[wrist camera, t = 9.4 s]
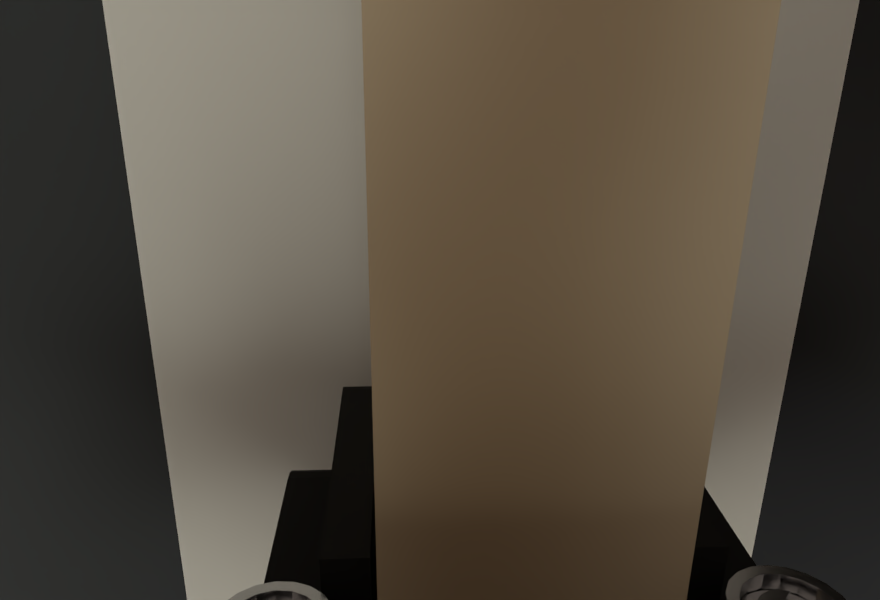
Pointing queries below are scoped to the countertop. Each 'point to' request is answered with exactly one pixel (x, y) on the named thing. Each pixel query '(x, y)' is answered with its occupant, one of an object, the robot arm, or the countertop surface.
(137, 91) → the grey mat
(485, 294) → the beech rail
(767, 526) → the countertop surface
